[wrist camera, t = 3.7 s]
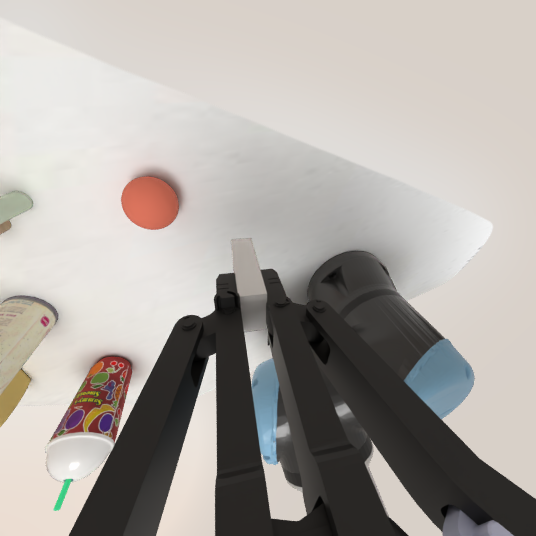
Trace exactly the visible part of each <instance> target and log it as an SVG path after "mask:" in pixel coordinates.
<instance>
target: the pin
mask: <svg viewBox="0 0 536 536" xmlns="http://www.w3.org/2000/svg"><path fill="white" fill-rule="evenodd" d="M10 228H11V223H10V221H9V220H7V221H5V222H4V223H2V224H0V234H2V233H4V232H5V231H7V230H9V229H10Z"/></svg>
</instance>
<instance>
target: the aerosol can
mask: <svg viewBox="0 0 536 536" xmlns="http://www.w3.org/2000/svg"><path fill="white" fill-rule="evenodd" d="M57 320H58V313H57V311H56V309H55V308H54V307H52V306H51V305H50V304H49V303H47V302H45V301H44V300H41V299H38V298H35V297H30V296H15V297H11V298H8V299H7V300H5V301H4V302H3V303H2V304H1V305H0V395H1V394H2V392H3V391H4V390H5V389H6V387H7V386H8V385H9V383H10V382H11V381H12V379H13V378H14V377H15V375H16V374H17V373H18V372H19V370H20V369H21V368H22V366H23V365H24V364H25V362H26V361H27V360H28V358H29V357H30V356H31V355H32V353H33V352H34V351H35V349H36V348H37V347H38V345H39V344H40V343H41V341H42V340H43V339H44V338H45V336H46V335H47V334H48V332H49V331H50V330H51V328H52V327H53V326H54V324H55V323H56V322H57Z"/></svg>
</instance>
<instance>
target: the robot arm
mask: <svg viewBox="0 0 536 536" xmlns="http://www.w3.org/2000/svg"><path fill="white" fill-rule="evenodd" d="M231 245H232V257H233V270H234V273H228V274H219V276H218V278H217V279H216V285H217V286H216V289H217V294H216V295H215V297H214V303H215V311H214V312H213V313H212V314H210V315H208V316H206V317H204V318H200V317H198V316H196V315H188V316H185V317H182V318H181V319H179V320H178V321H177V323H176V324H175V326H174V328H173V330H172V332H171V334H170V336H169V338H168V340H167V342H166V344H165V346H164V348H163V350H162V352H161V354H160V356H159V358H158V360H157V362H156V364H155V366H154V368H153V370H152V372H151V374H150V376H149V378H148V380H147V382H146V384H145V385H144V387H143V389H142V391H141V393H140V395H139V397H138V399H137V401H136V403H135V405H134V407H133V410H132V411H131V413H130V415H129V417H128V419H127V421H126V423H125V425H124V427H123V429H122V431H121V433H120V435H119V437H118V439H117V441H116V443H115V445H114V447H113V449H112V451H111V453H110V455H109V457H108V459H107V461H106V463H105V465H104V467H103V469H102V471H101V473H100V475H99V477H98V479H97V481H96V483H95V485H94V487H93V489H92V491H91V493H90V495H89V497H88V499H87V500H86V503H85V504H84V507H83V508H82V510H81V512H80V514H79V516H78V518H77V520H76V522H75V524H74V527H73V528H72V530H71V532H70V534H69V536H156V533H157V530H158V527H159V523H160V520H161V516H162V513H163V510H164V507H165V503H166V500H167V497H168V493H169V490H170V486H171V483H172V480H173V476H174V473H175V470H176V466H177V463H178V460H179V456H180V453H181V450H182V446H183V443H184V439H185V436H186V433H187V429H188V426H189V423H190V419H191V416H192V412H193V409H194V406H195V402H196V399H197V396H198V392H199V389H200V386H201V382H202V379H203V376H204V372H205V369H206V366H207V362H208V359H209V356H210V355H213V354H215V353H216V398H217V399H216V401H217V477H216V485H215V487H216V488H215V536H408V535H407V534H406V533H405V532H404V531H403V530H402V529H401V528H400V527H399V526H398V525H397V524H396V523H395V522H394V521H393V520H392V519H391V518H389V515H388V513H387V511H386V508H385V506H384V504H383V501H382V499H381V496H380V493H379V491H378V489H377V486H376V484H375V481H374V479H373V476H372V474H371V471H370V469H369V467H368V466H369V463H370V461H371V458H372V455H373V444H372V442H371V440H372V441H373V443H374V445H375V446H376V447H377V449H378V450H379V452H380V453H381V454H382V456H383V457H384V459H385V460H386V462H387V463H388V464H389V466H390V467H391V469H392V470H393V471H394V473H395V475H396V476H397V477H398V479H399V480H400V482H401V483H402V484H403V486H404V487H405V489H406V490H407V491H408V492H409V494H410V495H411V497H412V498H413V499H414V500H415V502H416V503H417V505H418V506H419V507H420V508H421V509H422V510H423V512H424V513H425V514H426V515H427V516H428V517H429V518H430V520H431V521H432V522H433V523H434V524H435V525H436V526H437V527H438V528H439V529H440V530H441V531H442V532H443V536H536V499H535V498H533V497H532V496H531V495H529V494H528V493H526V492H525V491H524V490H522V489H521V488H519V487H518V486H517V485H515V484H514V483H513V482H511V481H510V480H508V479H507V478H506V477H504V476H503V475H501V474H500V473H499V472H497V471H496V470H494V469H493V468H492V467H490V466H489V465H488V464H486V463H485V462H483V461H482V460H481V459H479V458H478V457H477V456H476V455H475V454H474V453H473V452H472V450H471V449H470V448H468V446H467V445H465V443H464V442H463V441H462V440H461V439H460V438H459V437H458V436H457V435H456V434H455V433H454V432H453V431H452V430H451V429H450V428H449V427H448V426H447V425H446V424H445V423H444V422H443V421H442V420H441V419H442V418H444V417H445V416H447V415H448V414H449V413H451V412H452V411H453V410H454V409H455V408H456V407H457V406H458V405H460V403H462V402H463V400H464V399H465V398H466V397H467V396H468V394H469V393H470V391H471V389H472V387H473V384H474V373H473V370H472V368H471V366H470V365H469V363H468V362H467V361H466V360H465V359H464V358H463V357H462V356H461V354H460V353H459V352H458V351H457V350H456V349H455V348H454V347H453V345H452V344H451V342H450V341H449V340H448V339H445V338H444V337H443V336H442V335H441V334H440V333H439V332H438V331H437V330H436V329H435V328H434V327H433V326H432V325H431V324H430V323H429V322H428V321H427V320H425V319H424V318H423V317H422V316H421V315H420V314H419V313H418V312H417V311H416V310H415V309H414V308H413V307H412V306H411V305H410V304H409V303H408V302H407V301H406V300H405V299H404V298H403V297H402V296H401V295H400V294H399V293H398V292H397V291H396V288H395V286H394V284H393V282H392V280H391V278H390V276H389V273H388V271H387V269H386V267H385V266H384V264H383V263H382V262H381V261H379V260H378V259H377V258H376V257H375V256H374V255H372V254H370V253H367V252H363V251H352V252H347V253H343V254H340V255H338V256H336V257H334V258H332V259H330V260H329V261H327V262H326V263H325V264H323V265H322V266H321V267H320V268H319V269H318V270H317V271H316V273H315V274H314V275H313V277H312V279H311V281H310V283H309V286H308V300H309V302H308V304H307V305H299V304H295V303H293V302H292V301H291V300H290V299H289V298H288V297H286V294H285V291H284V289H283V286H282V284H281V281H280V279H279V276H278V274H277V272H276V271H274V270H273V269H266V270H260V267H259V264H258V260H257V257H256V254H255V250H254V247H253V243H252V240H251V238H248V239H233V240H231ZM266 328H268V345H270V347H271V352H272V356H273V358H272V359H269V360H267V361H265V362H263V363H261V364H260V365H259V366H258V367H257V368H256V370H255V372H254V375H253V379H252V387H251V379H250V372H249V365H248V357H247V350H246V343H245V336H244V332H250V331H257V330H264V329H266ZM370 439H371V440H370ZM261 454H262V455H263V458H264V460H265V461H266V462H267V463H268V464H274V465H276V464H278V462H279V461H280V463H281V465H282V468H283V471H284V474H285V478H286V480H287V482H288V484H289V485H291V486H292V487H293V488H295V489H297V490H299V491H301V492H303V497H304V503H305V507H306V512H307V516H305V517H304V518H303V519H301V520H300V521H287V520H279V519H271V516H270V510H269V502H268V495H267V487H266V481H265V474H264V469H263V465H262V460H261Z"/></svg>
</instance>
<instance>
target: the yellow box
mask: <svg viewBox="0 0 536 536" xmlns="http://www.w3.org/2000/svg"><path fill="white" fill-rule="evenodd" d="M30 381H31V380H30V378H29V377H28V376H27V375H26V374H25V373H24V372H23V371H22V370H21V369H20V370H19V372H18V373H17V374H16V375H15V377H14V378H13V379H12V381H11V382H10V383H9V385H8V386H7V387H6V389H5V390H4V391H3V392H2V394H1V395H0V427H1V426H2V425H3V423H4V422H5V421H6V420H7V419H8V417H9V416H10V414H11V413H12V412H13V410H14V409H15V407H16V406H17V404H18V403H19V401H20V400H21V398H22V397H23V395H24V393H25V391H26V389H27V387H28V385H29V383H30Z"/></svg>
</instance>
